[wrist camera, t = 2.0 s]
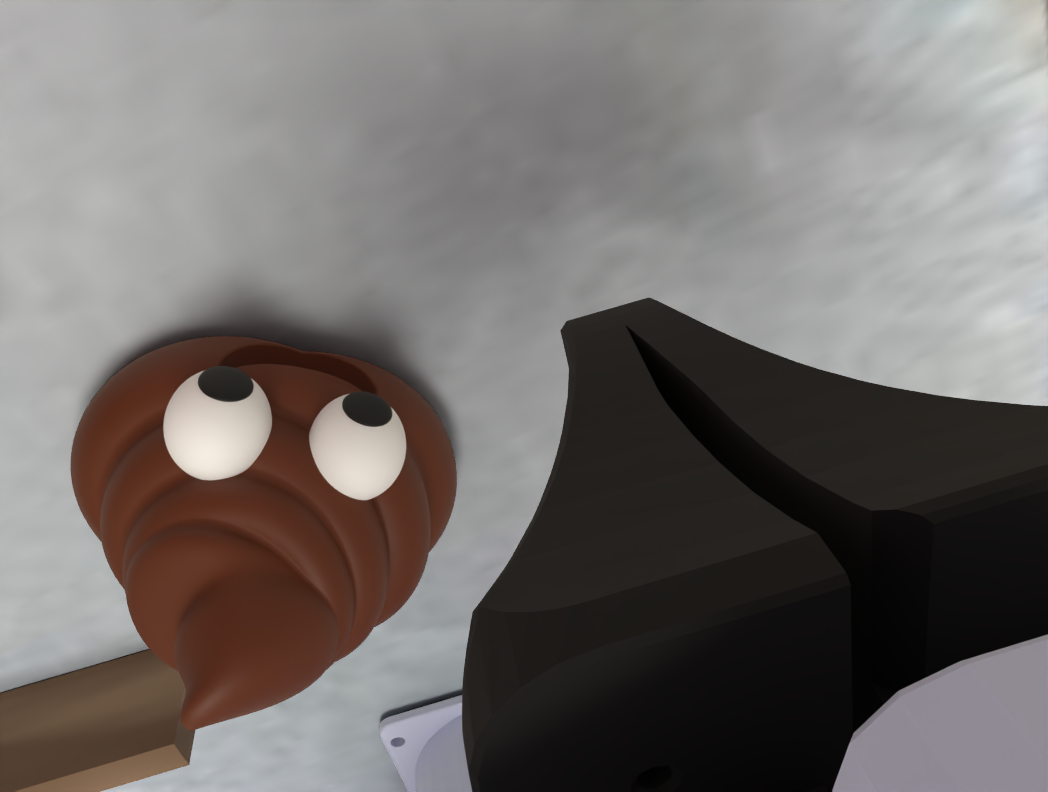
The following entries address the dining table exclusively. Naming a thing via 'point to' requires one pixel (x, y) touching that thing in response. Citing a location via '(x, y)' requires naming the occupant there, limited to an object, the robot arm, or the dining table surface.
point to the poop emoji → (260, 509)
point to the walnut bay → (94, 727)
